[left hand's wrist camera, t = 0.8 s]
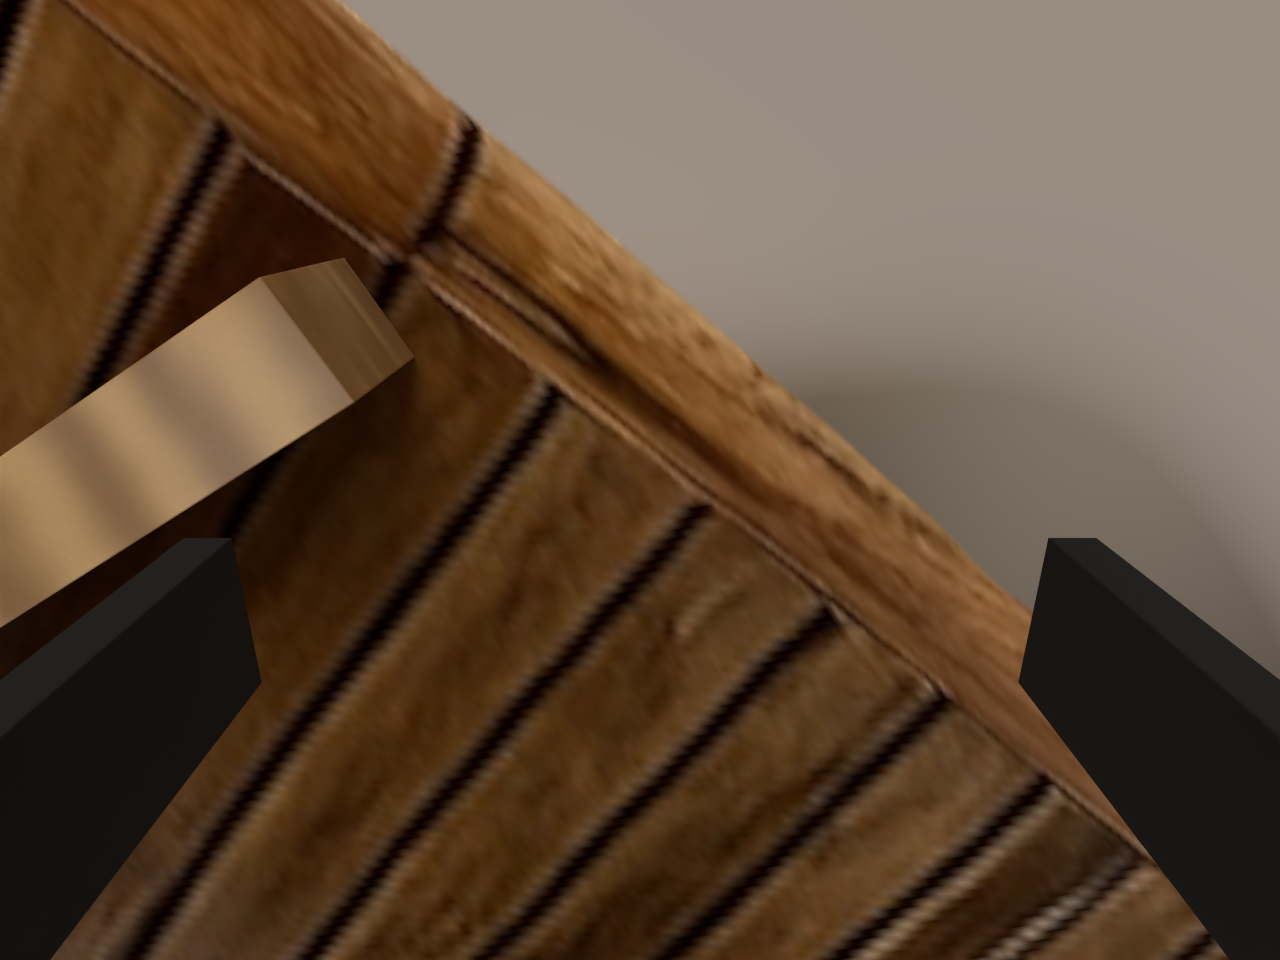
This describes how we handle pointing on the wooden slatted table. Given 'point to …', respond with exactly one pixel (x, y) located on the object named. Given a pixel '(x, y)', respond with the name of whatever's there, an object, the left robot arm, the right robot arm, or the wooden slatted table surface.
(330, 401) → the post
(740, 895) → the wooden slatted table surface
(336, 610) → the wooden slatted table surface
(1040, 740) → the wooden slatted table surface
